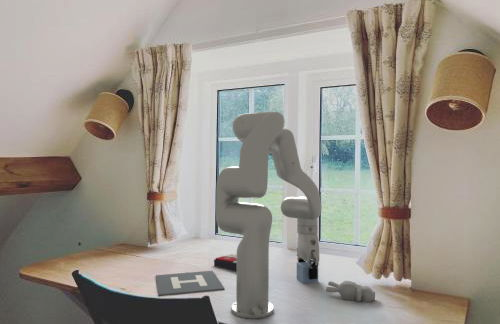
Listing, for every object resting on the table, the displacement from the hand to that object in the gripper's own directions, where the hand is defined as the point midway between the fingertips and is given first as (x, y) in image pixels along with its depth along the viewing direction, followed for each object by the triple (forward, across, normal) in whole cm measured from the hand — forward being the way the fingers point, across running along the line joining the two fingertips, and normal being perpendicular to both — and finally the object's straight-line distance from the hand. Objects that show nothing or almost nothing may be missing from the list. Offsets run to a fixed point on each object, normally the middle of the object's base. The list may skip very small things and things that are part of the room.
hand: (307, 275), depth 140 cm
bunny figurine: (+2, -21, -5) cm, 22 cm away
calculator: (+2, +26, +21) cm, 33 cm away
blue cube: (+2, 0, 0) cm, 2 cm away
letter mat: (+2, +9, +43) cm, 44 cm away
